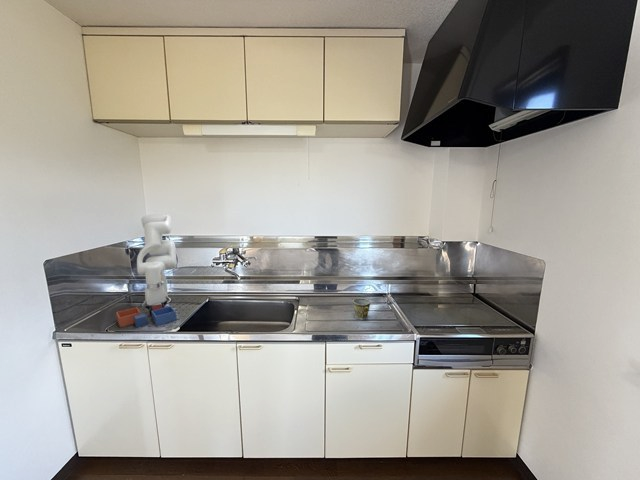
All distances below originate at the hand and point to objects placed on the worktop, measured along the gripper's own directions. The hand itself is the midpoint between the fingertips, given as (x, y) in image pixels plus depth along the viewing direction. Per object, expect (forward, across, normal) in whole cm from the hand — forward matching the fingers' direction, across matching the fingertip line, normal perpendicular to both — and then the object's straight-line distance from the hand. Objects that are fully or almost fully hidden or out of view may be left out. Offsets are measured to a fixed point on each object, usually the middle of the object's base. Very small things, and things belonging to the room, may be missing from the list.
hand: (157, 313), depth 164 cm
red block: (0, 0, 0) cm, 0 cm away
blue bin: (0, -1, +11) cm, 11 cm away
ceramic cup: (+1, -86, +89) cm, 124 cm away
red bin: (0, +14, -1) cm, 14 cm away
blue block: (0, +10, +8) cm, 13 cm away
